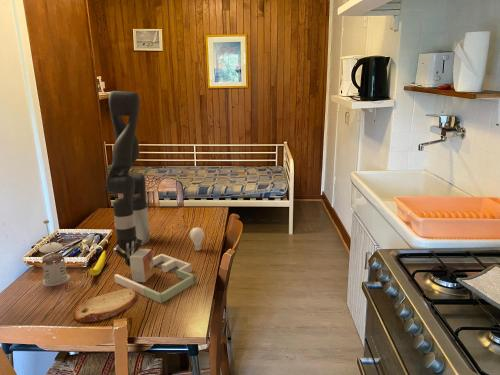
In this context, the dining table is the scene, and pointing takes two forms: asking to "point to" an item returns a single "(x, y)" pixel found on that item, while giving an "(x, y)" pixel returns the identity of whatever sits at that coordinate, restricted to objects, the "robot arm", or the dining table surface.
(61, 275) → the french press
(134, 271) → the small box
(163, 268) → the channel
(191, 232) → the lightbulb
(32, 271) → the dining table surface
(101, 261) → the banana
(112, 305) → the bread slice
